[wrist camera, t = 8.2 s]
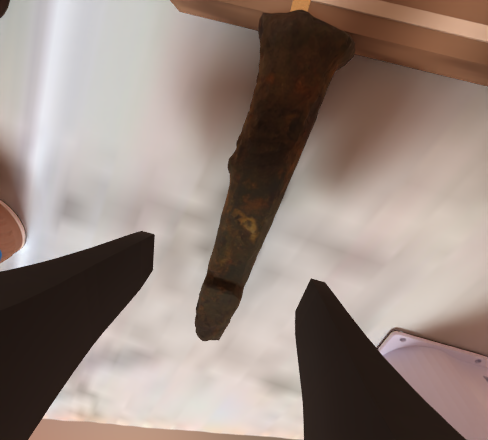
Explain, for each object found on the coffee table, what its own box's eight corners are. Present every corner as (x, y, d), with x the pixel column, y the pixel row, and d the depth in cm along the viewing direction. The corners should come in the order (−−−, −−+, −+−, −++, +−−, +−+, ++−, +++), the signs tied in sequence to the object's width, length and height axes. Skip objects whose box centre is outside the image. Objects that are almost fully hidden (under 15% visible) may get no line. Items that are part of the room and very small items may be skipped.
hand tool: (267, 31, 13) (261, -31, 8) (342, 60, 13) (384, 18, 8) (187, 292, 22) (161, 341, 17) (229, 308, 22) (215, 361, 17)
